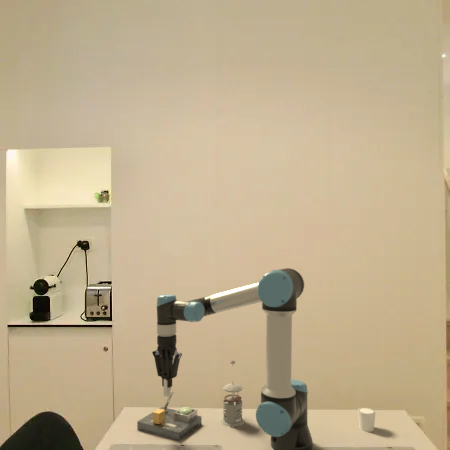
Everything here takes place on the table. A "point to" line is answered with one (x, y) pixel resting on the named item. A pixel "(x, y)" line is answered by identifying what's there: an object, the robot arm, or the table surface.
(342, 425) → the table surface
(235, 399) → the french press
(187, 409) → the push button
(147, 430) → the panel
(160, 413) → the yellow cube
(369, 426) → the white cylinder
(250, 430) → the table surface
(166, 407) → the toggle lever
